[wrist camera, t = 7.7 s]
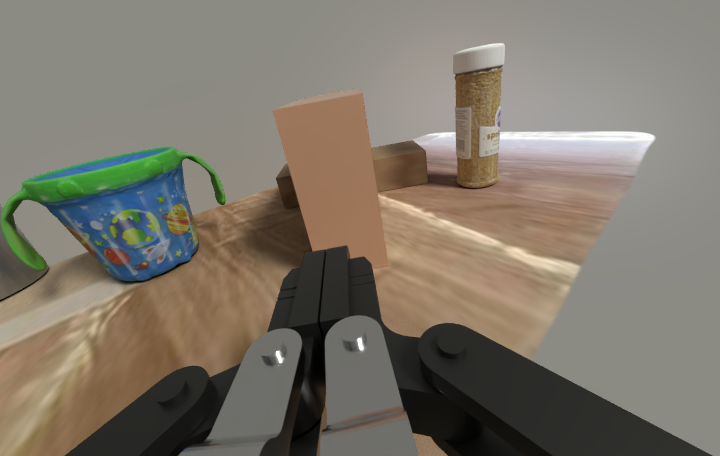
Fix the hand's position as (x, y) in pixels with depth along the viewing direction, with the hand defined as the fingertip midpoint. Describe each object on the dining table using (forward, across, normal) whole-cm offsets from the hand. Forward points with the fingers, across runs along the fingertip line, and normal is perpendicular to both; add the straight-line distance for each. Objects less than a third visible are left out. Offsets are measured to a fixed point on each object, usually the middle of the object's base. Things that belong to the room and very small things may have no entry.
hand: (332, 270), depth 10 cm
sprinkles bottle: (+23, -15, +7) cm, 28 cm away
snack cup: (+17, +19, +7) cm, 26 cm away
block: (+17, 0, +7) cm, 19 cm away
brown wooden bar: (+29, -1, +6) cm, 30 cm away
